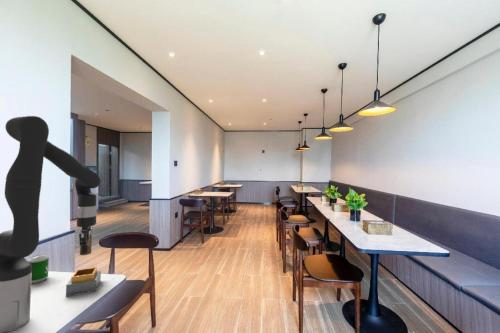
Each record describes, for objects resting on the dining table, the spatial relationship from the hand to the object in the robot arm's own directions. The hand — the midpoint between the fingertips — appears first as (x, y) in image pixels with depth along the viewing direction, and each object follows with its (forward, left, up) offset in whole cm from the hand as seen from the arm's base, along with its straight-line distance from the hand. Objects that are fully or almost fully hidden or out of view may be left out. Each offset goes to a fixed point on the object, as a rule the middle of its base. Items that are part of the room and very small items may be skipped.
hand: (85, 251), depth 104 cm
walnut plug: (0, 0, -1) cm, 1 cm away
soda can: (+18, +23, -17) cm, 34 cm away
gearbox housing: (0, 0, -17) cm, 17 cm away
